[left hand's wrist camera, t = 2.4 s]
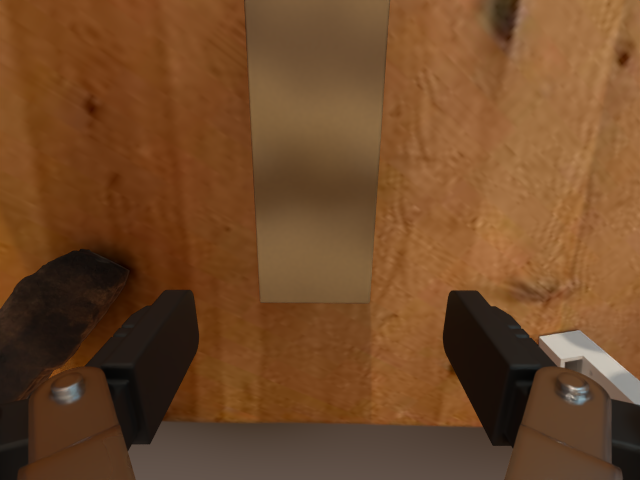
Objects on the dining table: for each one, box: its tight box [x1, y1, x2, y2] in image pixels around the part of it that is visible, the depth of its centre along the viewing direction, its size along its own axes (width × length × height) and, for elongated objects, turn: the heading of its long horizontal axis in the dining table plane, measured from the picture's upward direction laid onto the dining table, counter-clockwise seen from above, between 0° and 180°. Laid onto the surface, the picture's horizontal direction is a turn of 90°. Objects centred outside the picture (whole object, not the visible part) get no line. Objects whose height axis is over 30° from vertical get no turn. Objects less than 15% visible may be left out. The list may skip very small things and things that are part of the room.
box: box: [244, 0, 390, 303], centre depth 20 cm, size 24×6×12 cm, turn 179°
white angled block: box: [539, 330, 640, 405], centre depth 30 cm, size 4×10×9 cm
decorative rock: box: [0, 249, 129, 404], centre depth 27 cm, size 12×6×11 cm, turn 139°
